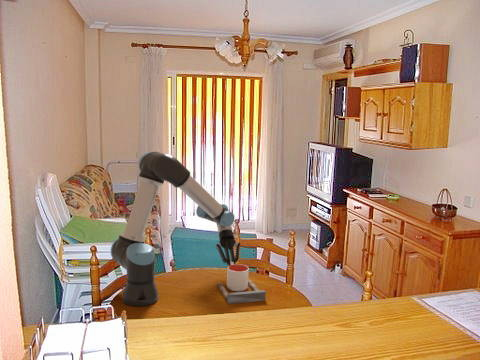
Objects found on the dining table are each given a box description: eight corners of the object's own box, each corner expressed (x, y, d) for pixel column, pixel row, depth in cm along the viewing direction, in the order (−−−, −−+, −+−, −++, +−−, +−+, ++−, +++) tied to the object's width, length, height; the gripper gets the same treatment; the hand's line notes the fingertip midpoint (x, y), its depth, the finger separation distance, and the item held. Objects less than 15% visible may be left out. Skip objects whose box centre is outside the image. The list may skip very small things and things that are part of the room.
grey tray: (217, 285, 197) (217, 277, 197) (250, 282, 202) (251, 274, 202) (228, 304, 178) (228, 295, 178) (265, 300, 183) (265, 291, 183)
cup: (228, 283, 201) (229, 263, 199) (248, 284, 200) (249, 264, 198) (225, 291, 191) (226, 270, 189) (246, 293, 190) (247, 272, 188)
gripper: (214, 229, 209) (222, 273, 196) (239, 228, 213) (248, 271, 200) (211, 236, 214) (219, 279, 201) (235, 235, 218) (244, 277, 205)
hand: (233, 275), depth 200 cm, fingers closed
